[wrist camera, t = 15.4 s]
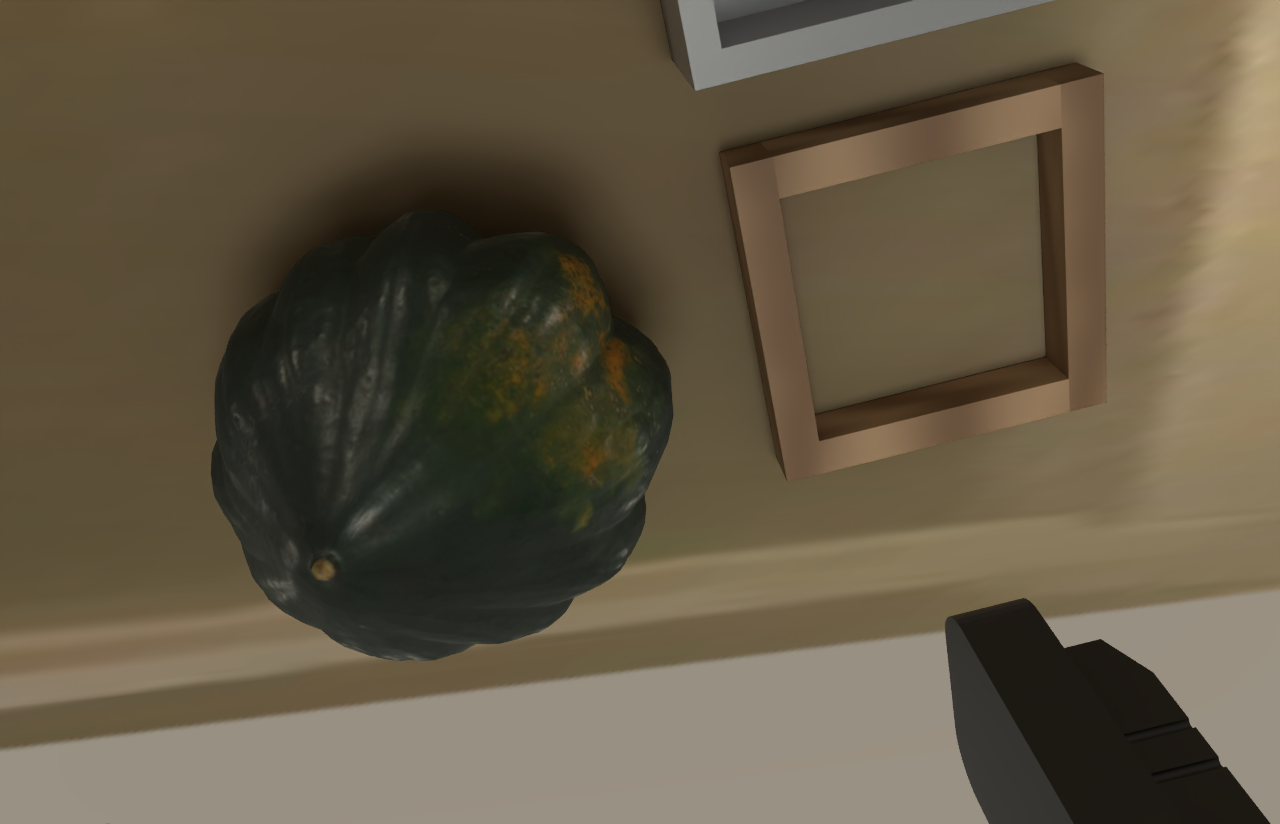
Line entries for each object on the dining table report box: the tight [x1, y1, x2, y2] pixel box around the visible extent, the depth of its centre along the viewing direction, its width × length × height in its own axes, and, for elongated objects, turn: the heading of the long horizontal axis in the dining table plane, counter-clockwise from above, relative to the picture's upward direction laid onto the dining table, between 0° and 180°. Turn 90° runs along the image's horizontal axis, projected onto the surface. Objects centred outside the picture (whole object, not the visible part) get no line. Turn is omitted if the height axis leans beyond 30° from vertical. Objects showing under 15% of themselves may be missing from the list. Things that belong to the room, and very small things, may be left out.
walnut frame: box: [719, 63, 1107, 482], centre depth 41 cm, size 13×13×2 cm
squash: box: [211, 209, 673, 661], centre depth 36 cm, size 14×15×15 cm
